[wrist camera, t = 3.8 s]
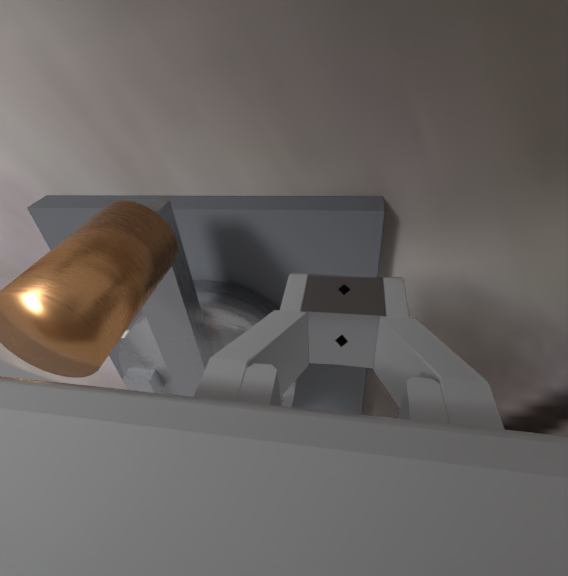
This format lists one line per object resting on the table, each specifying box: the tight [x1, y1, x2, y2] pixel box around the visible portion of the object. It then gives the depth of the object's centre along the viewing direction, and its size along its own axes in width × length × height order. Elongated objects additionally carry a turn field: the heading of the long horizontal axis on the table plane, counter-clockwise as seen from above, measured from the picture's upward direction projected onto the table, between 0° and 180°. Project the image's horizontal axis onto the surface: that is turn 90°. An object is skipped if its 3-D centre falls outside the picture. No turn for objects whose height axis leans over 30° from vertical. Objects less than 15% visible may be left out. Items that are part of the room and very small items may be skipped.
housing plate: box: [27, 196, 385, 415], centre depth 23 cm, size 18×18×2 cm
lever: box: [0, 199, 297, 407], centre depth 17 cm, size 16×10×9 cm, turn 4°
